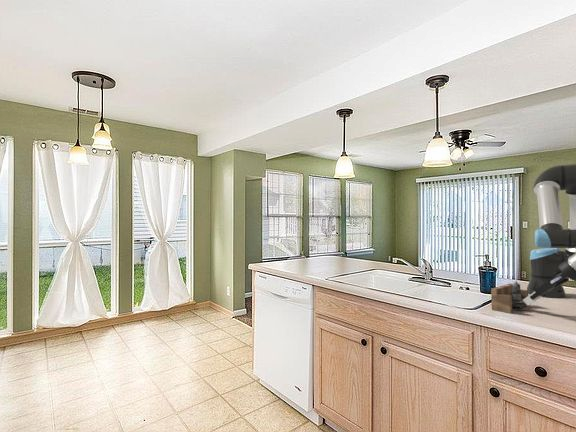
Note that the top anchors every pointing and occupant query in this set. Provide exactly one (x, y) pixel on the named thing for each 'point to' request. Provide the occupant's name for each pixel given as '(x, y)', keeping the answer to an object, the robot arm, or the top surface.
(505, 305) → the brown wooden u-shaped block
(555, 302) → the top surface
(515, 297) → the grey chess piece
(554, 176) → the robot arm
